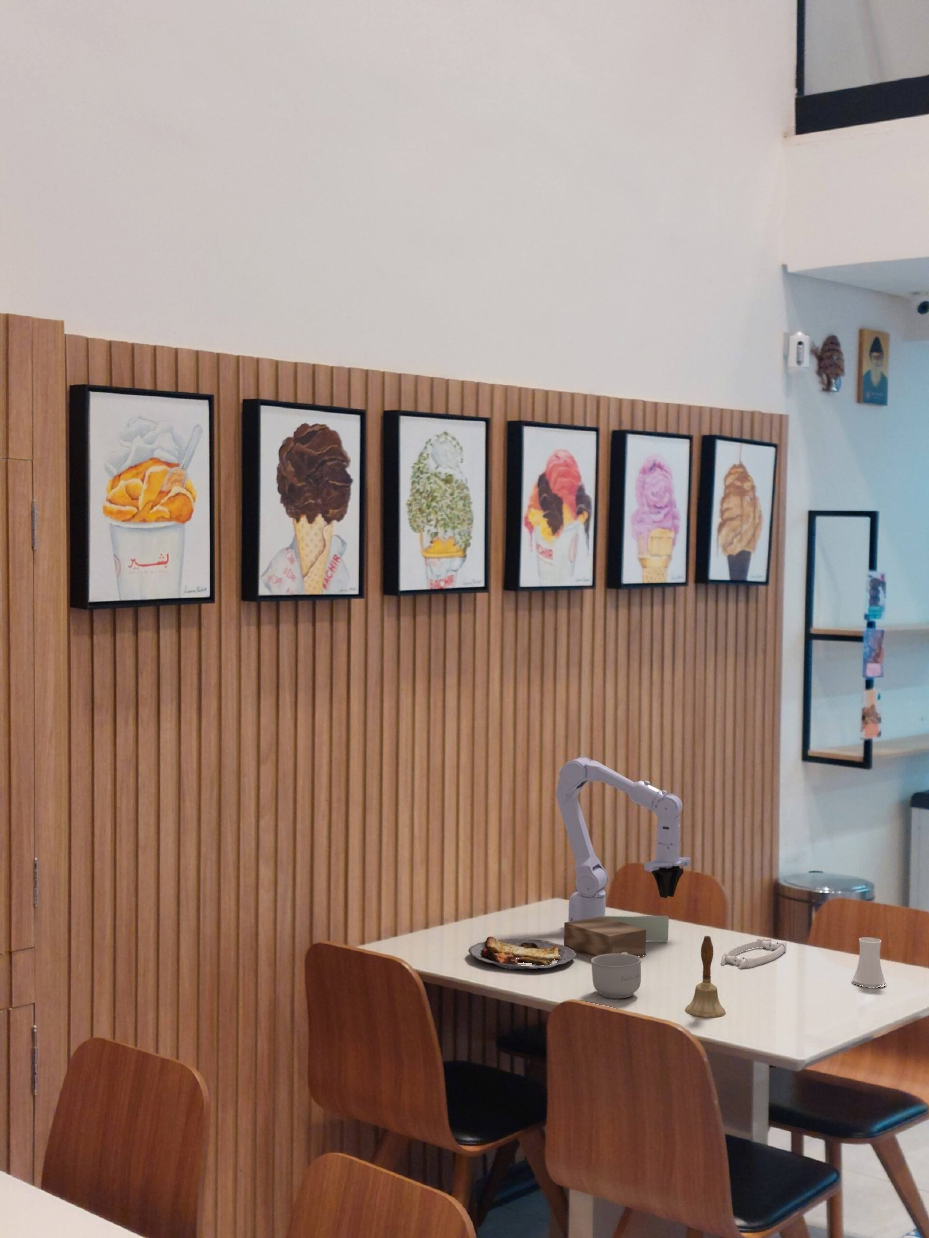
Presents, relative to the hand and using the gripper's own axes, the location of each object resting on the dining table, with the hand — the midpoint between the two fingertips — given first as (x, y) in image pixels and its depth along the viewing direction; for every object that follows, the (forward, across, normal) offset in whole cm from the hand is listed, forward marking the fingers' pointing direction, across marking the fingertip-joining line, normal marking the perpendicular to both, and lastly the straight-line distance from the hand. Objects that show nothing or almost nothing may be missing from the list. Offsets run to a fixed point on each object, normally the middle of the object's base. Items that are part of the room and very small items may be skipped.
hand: (666, 896), depth 362 cm
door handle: (+11, +5, -25) cm, 28 cm away
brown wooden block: (+10, -23, -2) cm, 25 cm away
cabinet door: (+10, -9, +2) cm, 14 cm away
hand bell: (+11, -38, -49) cm, 63 cm away
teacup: (+11, -44, -29) cm, 54 cm away
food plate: (+11, -44, +4) cm, 46 cm away
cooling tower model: (+11, +9, -55) cm, 57 cm away
